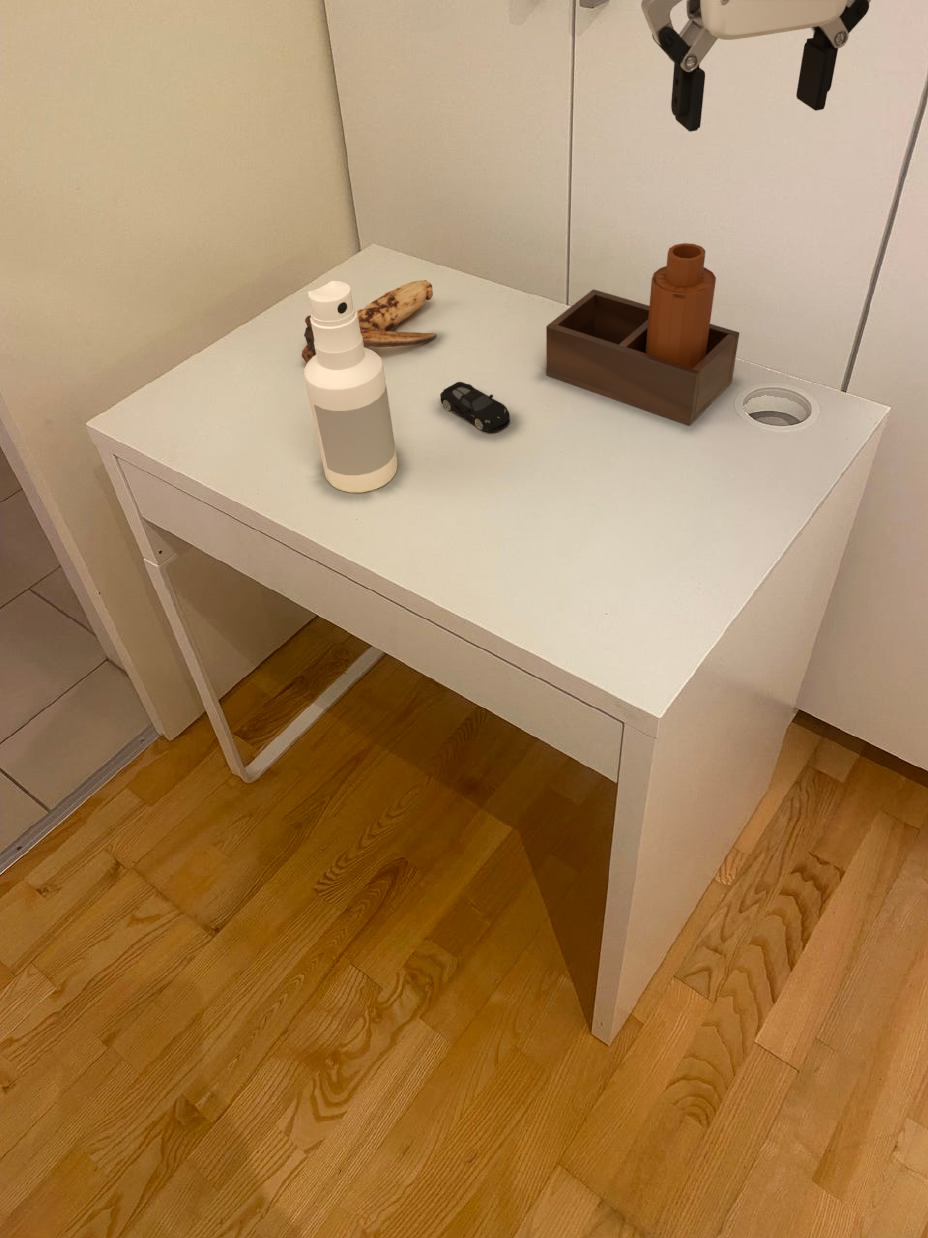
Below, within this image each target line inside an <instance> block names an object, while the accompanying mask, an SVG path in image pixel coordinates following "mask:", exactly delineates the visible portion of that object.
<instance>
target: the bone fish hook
mask: <svg viewBox="0 0 928 1238" xmlns="http://www.w3.org/2000/svg"><path fill="white" fill-rule="evenodd" d="M433 295H434V293H433V284H432V283H431V282H429V281H427V280H426V279H424V280H415V281H414V280H413V281H411V282H407V283H406V284H403V285H401V286H399V287H397V288H395V289H394V290H391V291H388V292H385V294H383V295H382V296H380V297H378V298H376V299H375V300H373V301H372V302H370V303H369V304H368V305H366V306H365V307H364V308H361V309H359V310H356V311H357V314H358V320H359V326H360V332H361V335H362V338H363V345H364V347H366V348H367V347H368V348H369V347H372V348H395V347H396V348H397V347H410V346H418V345H424V344H426V343H429V342H431V341H433V340H435V339H436V338H437V336H438V335H437V333H434V332H416V331H415V332H414V331H392V330H393V329H395V328H396V327H397V326H398V325H399V324H400V323H401V322H403V321H404V320H406V319H407V318H409V317H410V316H411V315H412V314H413V313H414V312H415V311H418V310H419V309H420V308H421V307H423V306H424V305H425V304H426V301H430V300H432V298H433ZM310 318H311V314H310V315H307V316H306V317H305V319H304V322H305V325H306V327H305V329H304V330H305V331H304V334H303V336H304V338H305V341H306V345H305V346H304V347H303V349H302V350H301V358H302V359H303V360H304V362H305V363H306V364H307V363H308V362H309V361H310V360H311V359H312V357H313V356H315V355H316V351H315V346H314V336H313V331H312V326H311V321H310Z"/></svg>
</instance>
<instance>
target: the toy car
mask: <svg viewBox="0 0 928 1238" xmlns="http://www.w3.org/2000/svg"><path fill="white" fill-rule="evenodd" d="M439 397H440V399H439V400H440V403H441V404H442V406H443V407H444V409H445V410H446V411H448V412H451V411H452V412H454V414H456V415H458V416H460V417H462V418H463V419H465V420H466V421H467V422H469V423H470V424H472V425H473V426H475V427H476V428H477V429H478V430H479V431H483V432H488V433H494V432H498V431H500V430H502V429H504V428H506V427H507V426H508V425H509V424H510V422H511V418H510V417H511V415H510V412H509V410H508V408H507V407H506V406H505V404H504V403H501V402H500V401H499V400H496V399H495V398H494V394H489V395H487V394H486V393H485V392H482V391H481V390H479V389H477V388H475V387H474V386H473V385H472V384H470V383H466V382H463V381H457V382H455V383H454V384H453V383H452V384H451V385H449V386H447V387H446V388H444V389H443V390H442V392H441V393H440V394H439Z"/></svg>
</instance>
